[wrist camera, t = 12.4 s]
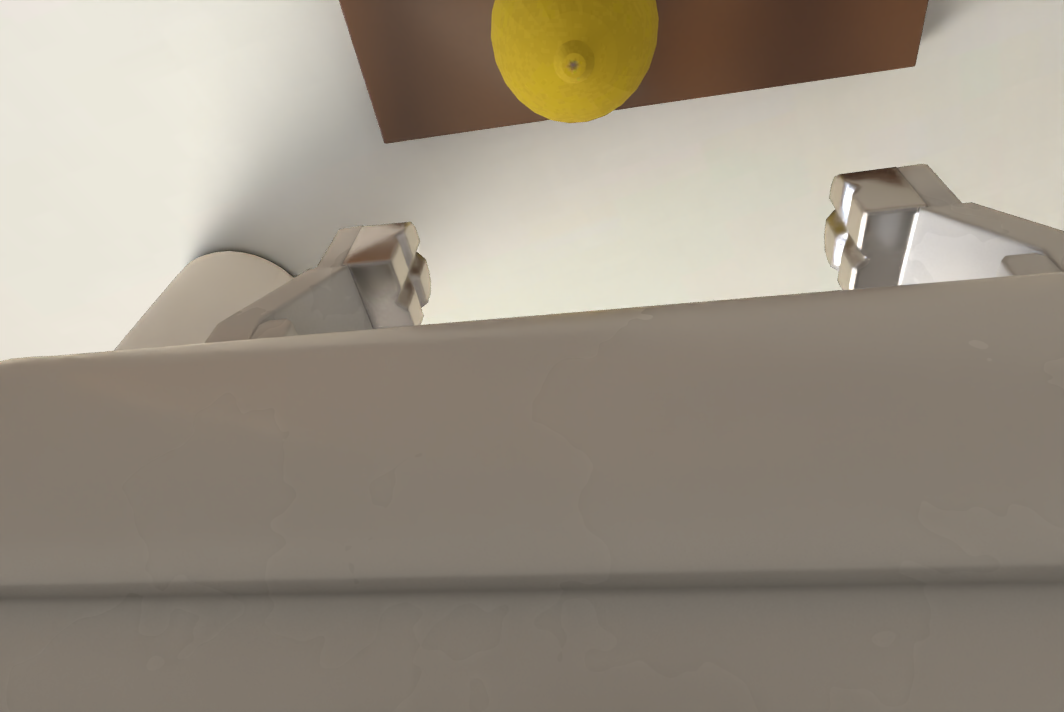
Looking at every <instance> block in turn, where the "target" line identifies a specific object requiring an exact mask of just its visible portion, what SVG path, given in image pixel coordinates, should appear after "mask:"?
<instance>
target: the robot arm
mask: <svg viewBox="0 0 1064 712" xmlns="http://www.w3.org/2000/svg"><path fill="white" fill-rule="evenodd" d="M829 199H830V200H831V202H832V204H833V206H834V208H835V210H834V211H833V212H832V213H831V215H830V216H829V217H828V218H827V219H826V224H825V233H824V244H825V253H826V257H827V260H828V262H829V264H830V266H831V267H832V268H834V269H836V270H838V271H839V273H838V279H837V281H838V283H839V285H840V287H841V288H842V290H837V291H825V292H813V293H801V294H789V295H777V296H765V297H753V298H741V299H729V300H717V301H705V302H693V303H681V304H669V305H657V306H645V307H633V308H621V309H609V310H597V311H585V312H573V313H561V314H548V315H536V316H524V317H512V318H500V319H488V320H476V321H464V322H452V323H440V324H428V325H421V323H422V320H423V317H424V315H423V312H422V309H421V308H422V307H423V306H424V305H426V304H427V303H428V301H429V297H430V294H431V279H430V273H429V268H428V265H427V261H426V259H425V258H423V257H422V256H421V255H420V254H419V253H418V252H416V251H417V248H418V246H419V243H420V239H419V236H418V233H417V230H416V227H415V226H414V225H413V224H412V222H402V223H391V224H380V225H369V226H363V225H362V226H356V227H349V228H343V229H339V230H338V232H337V234H336V235H335V237H334V239H333V240H332V242H331V244H330V246H329V247H328V249H327V251H326V252H325V254H324V256H323V257H322V259H321V261H320V263H319V264H318V266H317V268H314V269H308V270H307V271H305V272H303V273H302V274H300V275H298V276H297V277H295V278H293V279H292V280H290V281H288V282H287V283H285V284H283V285H282V286H280V287H278V288H277V289H275V290H273V291H272V292H270V293H268V294H267V295H265V296H263V297H262V298H260V299H258V300H257V301H255V302H253V303H252V304H250V305H248V306H247V307H245V308H243V309H241V310H240V311H238V312H236V313H235V314H233V315H231V316H230V317H228V318H226V319H225V320H223V321H221V322H220V323H218V324H217V326H216V327H215V328H214V330H213V331H212V333H211V334H210V335H209V337H208V338H207V340H206V341H205V343H201V344H189V345H177V346H166V347H154V348H142V349H130V350H118V351H106V352H94V353H82V354H70V355H58V356H38V357H24V358H13V359H8V360H3V361H0V712H1064V231H1062V230H1058V229H1055V228H1052V227H1049V226H1046V225H1042V224H1039V223H1036V222H1033V221H1030V220H1026V219H1023V218H1020V217H1017V216H1013V215H1010V214H1007V213H1004V212H1001V211H997V210H994V209H991V208H988V207H985V206H981V205H978V204H975V203H972V202H971V203H961V201H960V200H959V199H958V198H957V197H956V196H955V195H954V194H953V193H952V191H951V190H950V189H949V188H948V187H947V186H946V185H945V184H944V183H943V181H942V180H941V179H940V178H939V177H938V176H937V175H936V174H935V173H934V172H933V170H932V169H931V168H930V167H929V166H928V165H926V164H917V165H910V166H904V167H897V168H896V167H892V168H884V169H877V170H869V171H862V172H854V173H847V174H839V175H837V176H835V177H834V179H833V182H832V185H831V190H830V196H829Z"/></svg>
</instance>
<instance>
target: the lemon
mask: <svg viewBox="0 0 1064 712" xmlns="http://www.w3.org/2000/svg"><path fill="white" fill-rule="evenodd" d="M658 21H659V17H658V11H657V5H656V0H495V2H494V5H493V9H492V20H491V41H492V46H493V51H494V56H495V61H496V64H497V66H498V68H499V70H500V72H501V75H502V77H503V79H504V81H505V83H506V85H507V86H508V87H509V88H510V90H511V91H512V92H513V94H514V95H515V96H516V97H517V99H518V100H519V101H520V102H522V103H523V104H524V105H525V106H527V107H528V108H529V109H531V110H532V111H533V112H534V113H536V114H539V115H541V116H543V117H546V118H548V119H550V120H554V121H560V122H566V123H576V122H588V121H591V120H594V119H596V118H599V117H602V116H605V115H607V114H608V113H610V112H611V111H613V110H614V109H616V108H618V107H619V106H621V105H622V104H623V103H624V102H625V101H626V100H627V99H628V98H629V97H630V96H631V95H632V94H633V93H634V92H635V91H636V90H637V88H638V86H639V85H640V83H641V81H642V80H643V78H644V76H645V75H646V73H647V71H648V69H649V67H650V64H651V61H652V58H653V54H654V51H655V48H656V45H657V33H658Z"/></svg>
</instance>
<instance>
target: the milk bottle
mask: <svg viewBox="0 0 1064 712" xmlns="http://www.w3.org/2000/svg"><path fill="white" fill-rule="evenodd" d="M292 279H293V277H292V276H291V275H290V274H288V273H287V272H286V271H285V270H284V269H282V268H281V267H279V266H277V265H275V264H274V263H272V262H270V261H268V260H266V259H263V258H261V257H258V256H256V255H252V254H247V253H244V252H234V251H224V252H214V253H211V254H207V255H203V256H201V257H198V258H196V259H194V260H193V261H191V262H190V263H189V264H188V265H186V266H185V267H184V269H183V270H182V271H181V272H180V273H179V274H178V275H177V276H176V277H175V278H174V280H173V281H172V282H171V283H170V284H169V285H168V287H167V288H166V289H165V290H164V291H163V292H162V294H161V295H160V296H159V297H158V298H157V300H156V301H155V302H154V303H153V304H152V305H151V307H150V308H149V309H148V310H147V311H146V313H145V314H144V315H143V316H142V317H141V319H140V320H139V321H138V322H137V323H136V324H135V326H134V327H133V328H132V329H131V330H130V332H129V333H128V334H127V335H126V336H125V338H124V339H123V340H122V341H121V342H120V344H119V345H118V346H117V347H116V348H115V350H114V351H118V350H130V349H142V348H154V347H166V346H177V345H189V344H201V343H205V341H206V340H207V338H208V337H209V335H210V334H211V333H212V331H213V330H214V328H215V327H216V326H217V324H218V323H220V322H221V321H223V320H225V319H226V318H228V317H230V316H231V315H233V314H235V313H236V312H238V311H240V310H241V309H243V308H245V307H247V306H248V305H250V304H252V303H253V302H255V301H257V300H258V299H260V298H262V297H263V296H265V295H267V294H268V293H270V292H272V291H273V290H275V289H277V288H278V287H280V286H282V285H283V284H285V283H287V282H288V281H290V280H292Z"/></svg>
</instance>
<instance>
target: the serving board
mask: <svg viewBox="0 0 1064 712" xmlns="http://www.w3.org/2000/svg"><path fill="white" fill-rule="evenodd" d="M339 2H340V5H341V9H342V12H343V15H344V18H345V21H346V24H347V27H348V31H349V34H350V37H351V40H352V43H353V46H354V50H355V53H356V56H357V59H358V62H359V65H360V68H361V72H362V75H363V78H364V81H365V84H366V87H367V90H368V94H369V97H370V100H371V103H372V106H373V109H374V112H375V116H376V119H377V122H378V125H379V128H380V131H381V134H382V138H383V141H384V143H385V144H386V143H393V142H400V141H407V140H414V139H421V138H428V137H434V136H441V135H448V134H455V133H462V132H469V131H475V130H482V129H489V128H496V127H503V126H510V125H516V124H523V123H530V122H537V121H544V120H550V119H548V118H546V117H543V116H541V115H539V114H536V113H534V112H533V111H532V110H531V109H529V108H528V107H527V106H525V105H524V104H523V103H522V102H520V101H519V100H518V99H517V97H516V96H515V95H514V94H513V92H512V91H511V90H510V88H509V87H508V86H507V85H506V83H505V81H504V79H503V77H502V75H501V72H500V70H499V68H498V66H497V64H496V61H495V56H494V51H493V46H492V41H491V20H492V9H493V5H494V2H495V0H339ZM656 5H657V11H658V17H659V21H658V33H657V45H656V48H655V51H654V54H653V58H652V61H651V64H650V67H649V69H648V71H647V73H646V75H645V76H644V78H643V80H642V81H641V83H640V85H639V86H638V88H637V90H636V91H635V92H634V93H633V94H632V95H631V96H630V97H629V98H628V99H627V100H626V101H625V102H624V103H623V104H622V105H621V106H619V107H618V108H616V109H614V110H619V109H626V108H633V107H640V106H646V105H653V104H660V103H667V102H674V101H681V100H687V99H694V98H701V97H708V96H715V95H722V94H728V93H735V92H742V91H749V90H756V89H763V88H769V87H776V86H783V85H790V84H797V83H804V82H810V81H817V80H824V79H831V78H838V77H845V76H851V75H858V74H865V73H872V72H879V71H886V70H893V69H899V68H906V67H913V66H915V64H916V59H917V54H918V50H919V45H920V40H921V35H922V30H923V25H924V20H925V15H926V10H927V5H928V0H656Z"/></svg>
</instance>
